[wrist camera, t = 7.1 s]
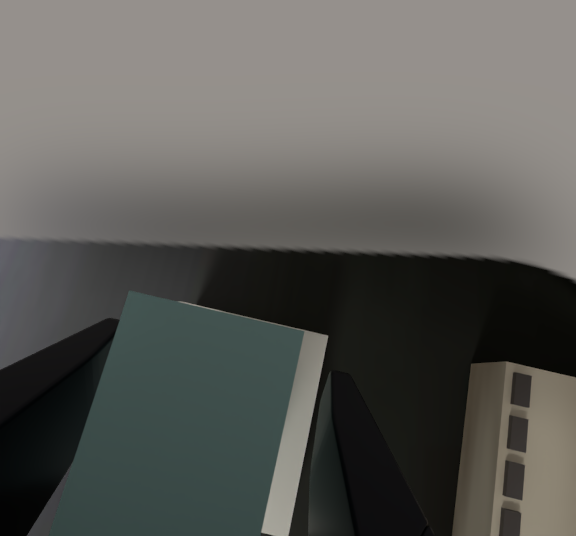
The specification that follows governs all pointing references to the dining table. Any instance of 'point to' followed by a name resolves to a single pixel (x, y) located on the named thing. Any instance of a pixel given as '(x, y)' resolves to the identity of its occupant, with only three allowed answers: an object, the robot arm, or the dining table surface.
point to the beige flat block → (517, 453)
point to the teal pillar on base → (194, 426)
